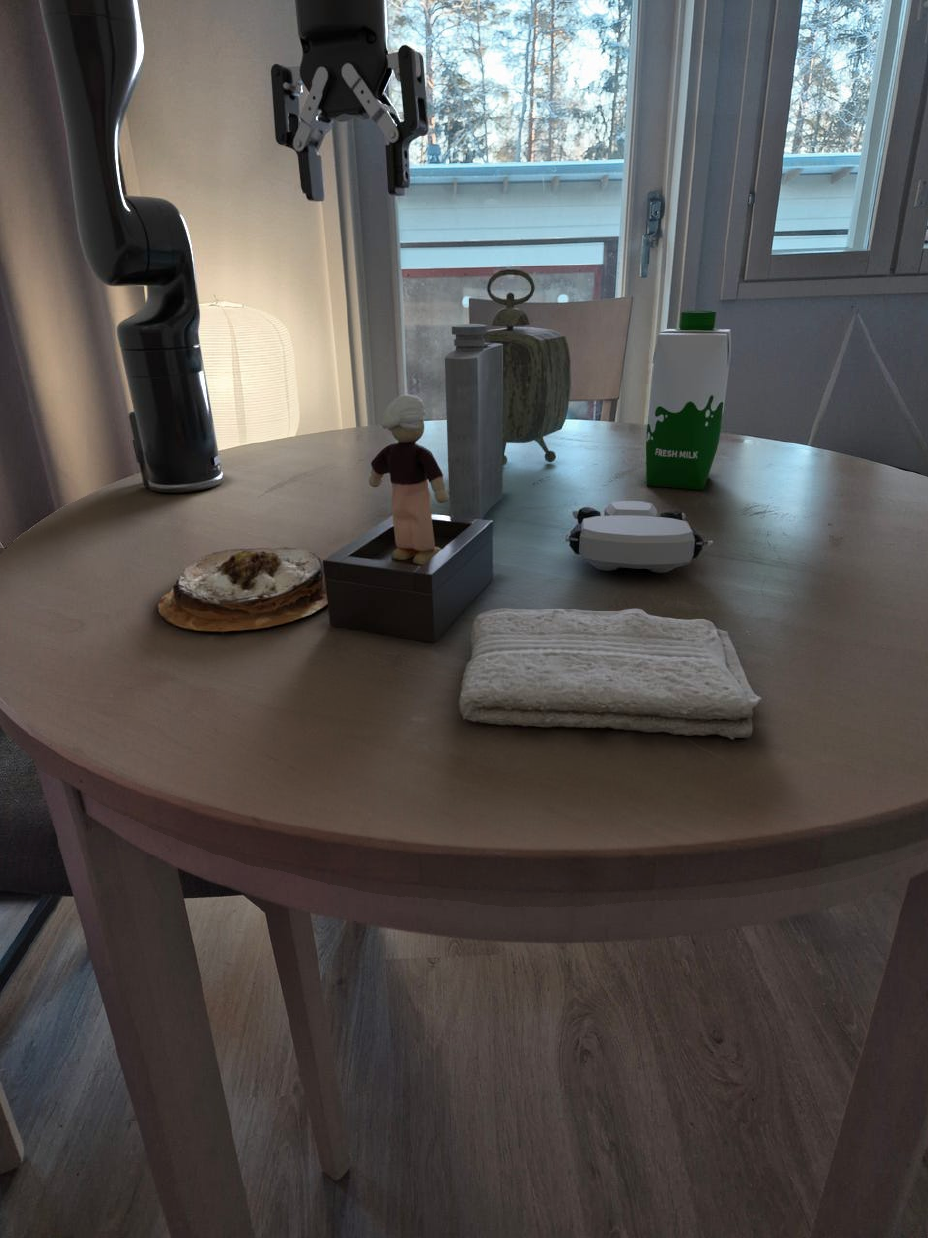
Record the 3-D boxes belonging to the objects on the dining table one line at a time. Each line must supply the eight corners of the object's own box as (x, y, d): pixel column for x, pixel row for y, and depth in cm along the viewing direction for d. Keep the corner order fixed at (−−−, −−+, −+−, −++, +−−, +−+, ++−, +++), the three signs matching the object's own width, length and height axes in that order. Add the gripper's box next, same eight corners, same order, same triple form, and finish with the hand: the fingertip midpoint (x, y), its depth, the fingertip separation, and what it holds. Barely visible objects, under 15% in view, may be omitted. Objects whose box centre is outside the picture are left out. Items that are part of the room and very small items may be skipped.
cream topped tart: (210, 560, 69) (203, 519, 68) (359, 566, 67) (356, 524, 65) (123, 628, 56) (111, 579, 54) (305, 638, 54) (299, 587, 52)
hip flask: (476, 537, 74) (473, 329, 65) (438, 535, 75) (430, 329, 66) (504, 495, 88) (505, 318, 79) (472, 493, 89) (469, 319, 80)
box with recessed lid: (329, 625, 56) (322, 560, 54) (402, 567, 67) (399, 510, 65) (434, 643, 53) (431, 574, 51) (493, 579, 64) (493, 520, 61)
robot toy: (567, 537, 76) (563, 582, 62) (569, 494, 74) (565, 531, 61) (686, 541, 74) (709, 588, 60) (691, 497, 72) (715, 536, 59)
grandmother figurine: (465, 554, 58) (462, 393, 53) (444, 570, 55) (438, 401, 50) (384, 542, 61) (373, 388, 56) (360, 557, 58) (345, 396, 53)
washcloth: (765, 745, 41) (774, 699, 40) (454, 732, 43) (453, 688, 41) (720, 647, 52) (726, 608, 50) (472, 640, 53) (472, 602, 52)
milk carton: (716, 475, 94) (738, 310, 86) (710, 493, 87) (734, 314, 78) (648, 470, 97) (663, 310, 89) (637, 487, 90) (652, 314, 81)
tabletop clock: (567, 461, 103) (575, 267, 92) (538, 476, 96) (543, 268, 85) (481, 451, 110) (479, 269, 99) (448, 463, 103) (442, 270, 92)
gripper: (435, -29, 59) (442, 197, 67) (291, -3, 64) (311, 205, 71) (395, -63, 53) (407, 190, 60) (238, -32, 58) (266, 199, 65)
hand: (355, 198), depth 66 cm, fingers open, 8 cm apart
